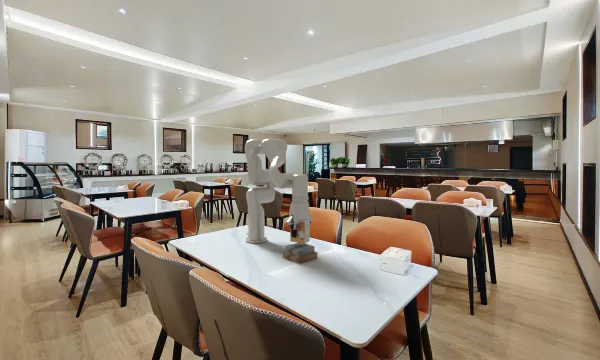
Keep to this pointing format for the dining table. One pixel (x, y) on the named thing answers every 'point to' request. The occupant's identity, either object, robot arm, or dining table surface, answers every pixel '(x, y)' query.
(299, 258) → the tower base
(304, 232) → the small box
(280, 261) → the dining table surface
